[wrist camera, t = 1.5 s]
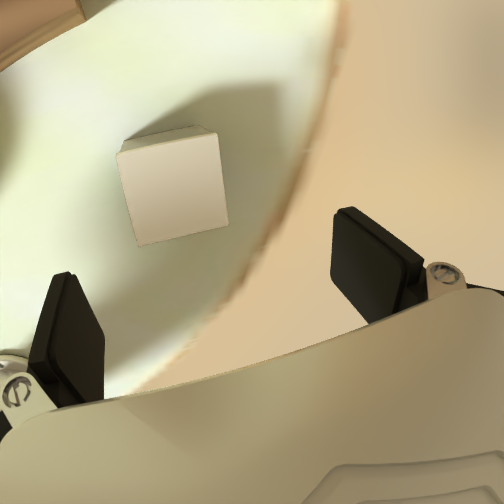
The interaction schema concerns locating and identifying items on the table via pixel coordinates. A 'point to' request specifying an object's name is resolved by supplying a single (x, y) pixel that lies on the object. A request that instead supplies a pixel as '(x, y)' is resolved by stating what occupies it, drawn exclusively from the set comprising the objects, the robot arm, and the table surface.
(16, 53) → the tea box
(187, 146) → the beige cube
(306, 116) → the table surface
